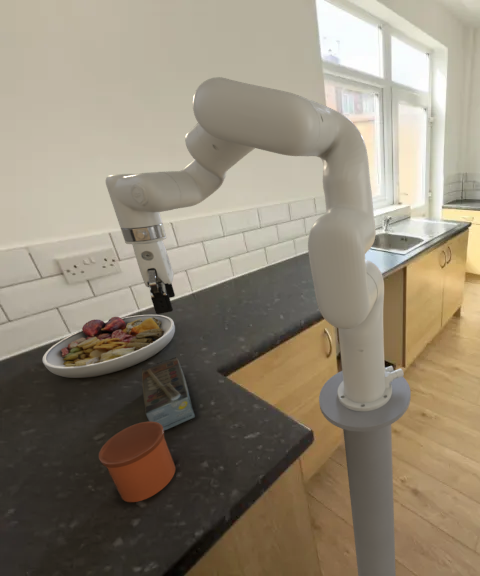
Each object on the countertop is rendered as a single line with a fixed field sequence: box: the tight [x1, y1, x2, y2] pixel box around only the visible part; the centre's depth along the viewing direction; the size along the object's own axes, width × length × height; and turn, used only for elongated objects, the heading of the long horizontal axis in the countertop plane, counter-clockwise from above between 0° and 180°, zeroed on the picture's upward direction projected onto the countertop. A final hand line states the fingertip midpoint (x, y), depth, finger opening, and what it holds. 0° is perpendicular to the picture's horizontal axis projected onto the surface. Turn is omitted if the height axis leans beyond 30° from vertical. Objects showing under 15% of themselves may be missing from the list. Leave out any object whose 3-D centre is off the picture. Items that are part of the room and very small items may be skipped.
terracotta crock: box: [98, 421, 176, 503], centre depth 54 cm, size 9×9×9 cm
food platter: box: [42, 314, 176, 379], centre depth 93 cm, size 30×30×8 cm
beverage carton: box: [141, 356, 196, 431], centre depth 72 cm, size 8×19×7 cm, turn 37°
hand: (166, 304), depth 76 cm, fingers open, 9 cm apart
